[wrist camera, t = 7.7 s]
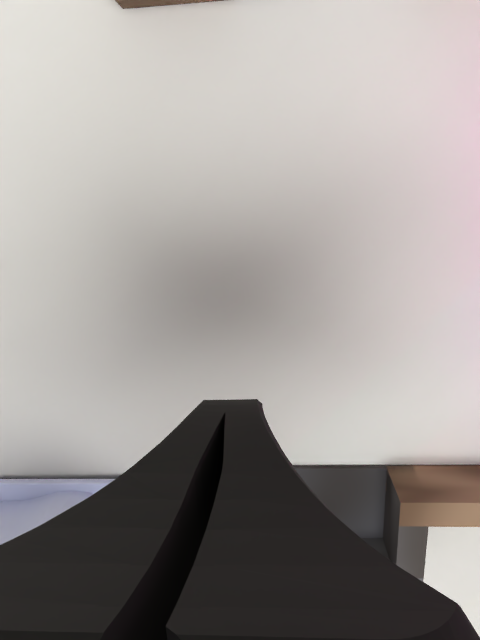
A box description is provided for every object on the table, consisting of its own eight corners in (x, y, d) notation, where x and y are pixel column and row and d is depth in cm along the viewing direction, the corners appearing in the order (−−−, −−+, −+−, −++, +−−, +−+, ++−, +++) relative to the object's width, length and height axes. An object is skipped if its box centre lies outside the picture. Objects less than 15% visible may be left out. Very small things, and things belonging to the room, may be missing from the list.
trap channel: (183, 552, 23) (166, 625, 20) (101, -181, 14) (41, -308, 11) (651, 556, 22) (732, 638, 18) (888, -272, 13) (1152, -461, 9)
